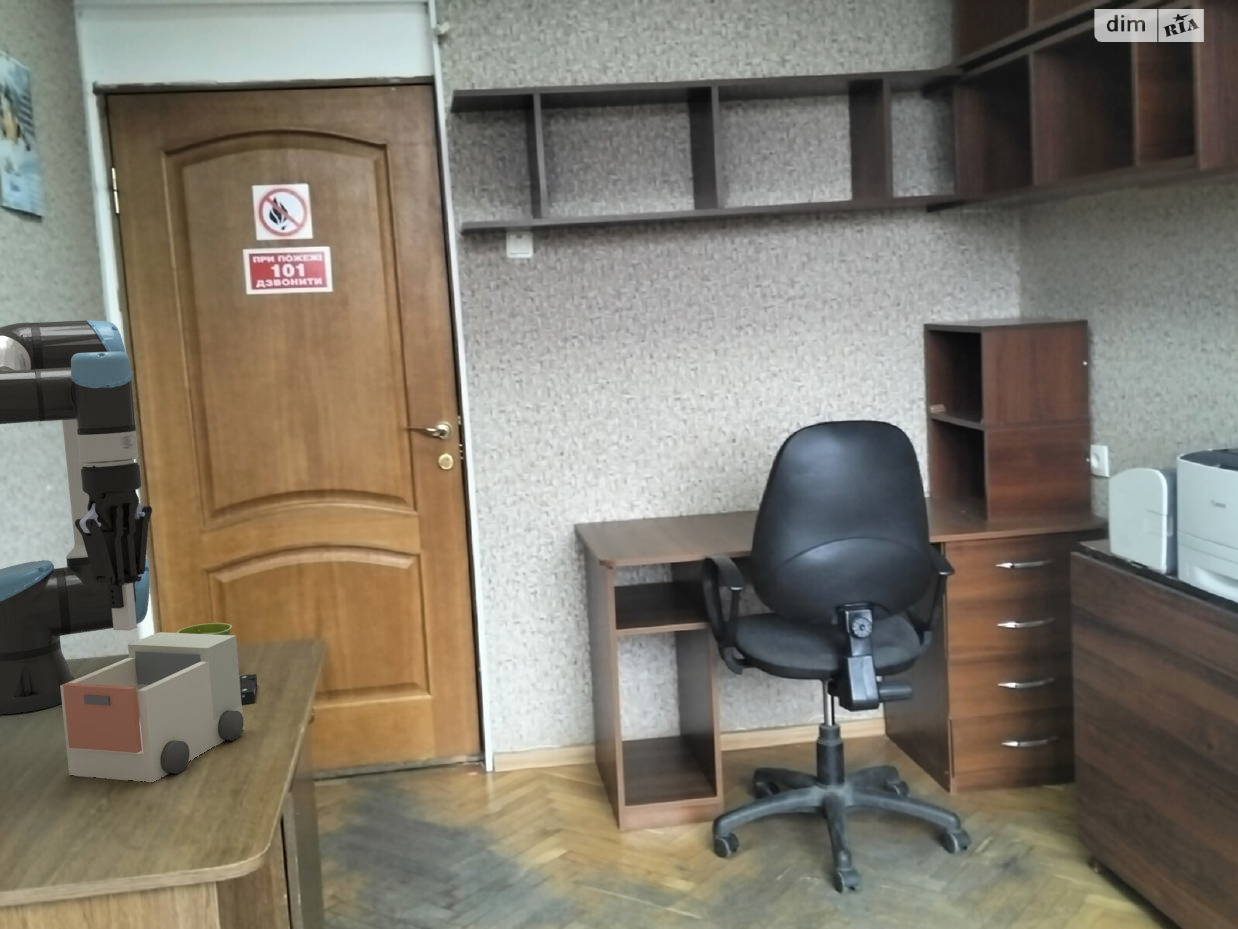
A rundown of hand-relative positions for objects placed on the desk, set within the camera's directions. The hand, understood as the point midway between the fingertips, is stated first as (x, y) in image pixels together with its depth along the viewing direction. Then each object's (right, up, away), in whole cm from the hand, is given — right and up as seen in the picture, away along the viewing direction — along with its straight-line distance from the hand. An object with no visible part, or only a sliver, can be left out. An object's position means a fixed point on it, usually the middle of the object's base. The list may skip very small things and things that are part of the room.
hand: (125, 628), depth 162 cm
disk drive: (+1, -17, +32) cm, 36 cm away
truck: (+2, -19, +7) cm, 21 cm away
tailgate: (-1, -16, -4) cm, 17 cm away
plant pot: (-5, -15, +46) cm, 48 cm away
